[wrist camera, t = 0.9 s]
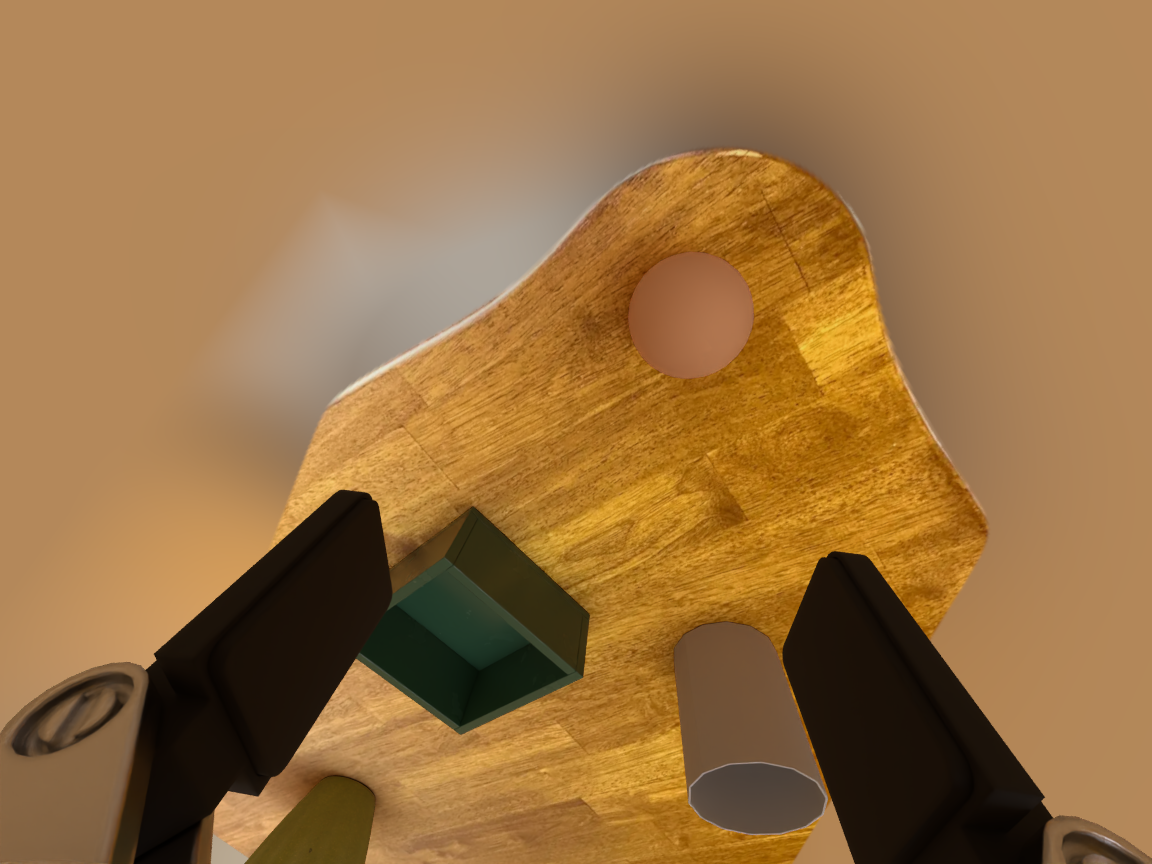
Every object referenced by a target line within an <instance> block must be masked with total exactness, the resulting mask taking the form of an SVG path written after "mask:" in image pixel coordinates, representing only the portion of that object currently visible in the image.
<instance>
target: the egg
mask: <svg viewBox="0 0 1152 864" xmlns="http://www.w3.org/2000/svg"><path fill="white" fill-rule="evenodd" d="M753 320H754V311H753V301H752V296H751V292H750V290H749V288H748V285H747V283H746V282H745V280H744V279H743V277H742V276H741V275H740V273H739V272H738V270H736V269H735V268H734V267H732V266H731V265H730V264H729V263H727V262H726V261H725V260H723V259H721V258H719V257H716V256H713V255H710V254H708V253H701V252H686V253H681V254H677V255H672V256H670V257H668V258H666V259H664V260H661V261H660V262H658V263H657V264H656V265H654V266H653V267H652V268H651V269H650V270H649V271H648V272H647V273H646V274H645V275H644V276H643V277H642V279H641V280H640V281H639V283H638V285H637V286H636V288H635V290H634V293H633V296H632V298H631V301H630V305H629V315H628V322H629V330H630V333H631V337H632V340H633V343H634V346H635V347H636V349H637V350H638V352H639V353H640V355H641V356H642V358H643V359H644V360H645V361H646V362H647V363H648V364H649V365H650V366H652V367H653V368H655V369H656V370H658V371H660V372H661V373H664V374H667V375H669V376H672V377H676V378H689V379H691V378H697V377H704V376H707V375H710V374H712V373H715V372H717V371H718V370H720V369H722V368H723V367H725V366H726V365H728V364H729V363H730V362H731V361H732V360H733V359H734V358H735V357H736V356H737V355H738V354H739V353H740V351H741V350H742V348H743V347H744V345H745V344H746V342H747V340H748V338H749V335H750V333H751V330H752V325H753Z"/></svg>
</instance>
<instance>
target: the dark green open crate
mask: <svg viewBox="0 0 1152 864" xmlns="http://www.w3.org/2000/svg"><path fill="white" fill-rule="evenodd" d="M389 571H390V577H391V583H392V589H393V594H392V600H391V603H390V605H389V607H388V609H387V611H386V612H385V614H384V615H383V617H382V618H381V620H380V621H379V623H378V625H377V626H376V628H375V629H374V631H373V632H372V634H371V635H370V637H369V639H368V640H367V642H366V643H365V645H364V646H363V648H362V650H361V651H360V653H359V654H358V656H357V657H356V659H358V660H359V661H360V662H362V663H363V664H364V665H366V666H367V667H369V668H370V669H371V670H373V671H374V672H375V673H377V674H378V675H379V676H381V677H382V678H384V679H385V680H386V681H388V682H389V683H390V684H392V685H393V686H395V687H396V688H397V689H399V690H400V691H401V692H403V693H404V694H405V695H407V696H408V697H410V698H411V699H412V700H414V701H415V702H416V703H418V704H419V705H420V706H422V707H423V708H425V709H426V710H427V711H429V712H430V713H431V714H433V715H434V716H436V717H437V718H438V719H440V720H441V721H442V722H444V723H445V724H446V725H448V726H449V727H451V728H452V729H454V731H456V732H457V733H459V734H460V735H462V734H464V733H466V732H468V731H470V730H472V729H474V728H477V727H479V726H481V725H483V724H485V723H487V722H489V721H492V720H494V719H496V718H498V717H500V716H502V715H504V714H507V713H509V712H511V711H513V710H515V709H517V708H519V707H521V706H524V705H526V704H528V703H530V702H532V701H534V700H536V699H539V698H541V697H543V696H545V695H547V694H549V693H551V692H554V691H556V690H558V689H560V688H562V687H564V686H566V685H569V684H571V683H573V682H575V681H577V680H579V679H581V678H583V674H584V664H585V655H586V645H587V636H588V626H589V616H590V615H589V614H588V613H587V612H586V611H585V610H584V609H583V608H582V607H581V606H580V605H579V604H578V603H577V602H575V601H574V600H573V599H572V598H571V597H570V596H569V595H568V594H567V593H566V592H565V591H564V590H563V589H562V588H560V587H559V586H558V585H557V584H556V583H555V582H554V581H553V580H552V579H551V578H550V577H549V576H548V575H546V574H545V573H544V572H543V571H542V570H541V569H540V568H539V567H538V566H537V565H536V564H535V563H534V562H532V561H531V560H530V559H529V558H528V557H527V556H526V555H525V554H524V553H523V552H522V551H521V550H520V549H518V548H517V547H516V546H515V545H514V544H513V543H512V542H511V541H510V540H509V539H508V538H507V537H506V536H504V535H503V534H502V533H501V532H500V531H499V530H498V529H497V528H496V527H495V526H494V525H493V524H492V523H491V522H489V521H488V520H487V519H486V518H485V517H484V516H483V515H482V514H481V513H480V512H479V511H478V510H477V509H475V508H474V507H472V508H470V509H469V510H468V511H466V512H465V513H464V514H462V515H461V516H460V517H459V518H457V519H456V520H455V521H453V522H452V523H451V524H449V525H448V526H447V527H445V528H444V529H443V530H441V531H440V532H439V533H437V534H436V535H435V536H433V537H432V538H431V539H429V540H428V541H427V542H425V543H424V544H423V545H421V546H420V547H419V548H417V549H416V550H415V551H413V552H412V553H411V554H409V555H408V556H407V557H406V558H404V559H403V560H402V561H400V562H399V563H398V564H396V565H395V566H394V567H392V568H391V569H390V570H389Z"/></svg>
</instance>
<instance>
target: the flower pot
mask: <svg viewBox="0 0 1152 864" xmlns="http://www.w3.org/2000/svg"><path fill="white" fill-rule="evenodd" d="M374 808H375V797H374V795H373V793H372V792H371V791H370V790H369V789H368V788H367V787H365V786H364V785H362V784H361V783H359V782H357V781H355V780H352V779H349V778H346V777H340V776H330V777H326V778H324V779H322V780H321V781H320V782H319V783H318V784H317V785H316V786H315V787H314V788H313V789H312V790H311V791H310V792H309V793H308V794H307V795H306V796H305V797H304V798H303V799H302V800H301V801H300V802H299V803H298V804H297V805H296V806H295V807H294V808H293V809H292V811H291V812H290V813H289V814H288V815H287V816H286V817H285V818H284V819H283V820H282V821H281V822H280V823H279V824H278V826H277V827H276V828H275V829H274V830H273V831H272V832H271V833H270V835H269V836H268V837H267V838H266V839H265V840H264V841H263V843H262V844H261V845H260V846H259V847H258V848H257V849H256V851H255V852H254V853H253V854H252V855H251V856H250V858H249V859H248V860H247V861H246V862H245V864H365V860H366V855H367V850H368V845H369V839H370V834H371V828H372V821H373V815H374Z"/></svg>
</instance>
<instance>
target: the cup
mask: <svg viewBox="0 0 1152 864" xmlns="http://www.w3.org/2000/svg"><path fill="white" fill-rule="evenodd" d="M674 667H675V677H676V687H677V696H678V706H679V716H680V725H681V735H682V745H683V754H684V764H685V774H686V784H687V793H688V803H689V804H690V805H691V807H692V808H693V809H694V810H695V812H696V813H697V814H698V815H699V816H700V818H702V819H704V820H706V821H708V822H710V823H712V824H714V825H716V826H718V827H720V828H722V829H725V830H730V831H735V832H739V833H744V834H749V835H770V834H783V833H787V832H791V831H794V830H798V829H802V828H805V827H807V826H809V825H810V824H811V823H813V822H814V821H815V820H817V819H818V818H819V817H821V816H822V815H823V814H824V811H825V807H826V804H827V800H828V797H827V794H826V791H825V788H824V785H823V782H822V780H821V777H820V774H819V771H818V768H817V765H816V762H815V760H814V757H813V754H812V751H811V748H810V745H809V743H808V740H807V737H806V734H805V731H804V728H803V725H802V723H801V720H800V717H799V714H798V711H797V708H796V705H795V703H794V700H793V697H792V694H791V691H790V688H789V686H788V683H787V680H786V677H785V674H784V671H783V668H782V666H781V663H780V660H779V657H778V654H777V651H776V650H775V648H774V646H773V645H772V643H771V641H770V639H769V638H768V637H767V636H766V635H764V634H762V633H761V632H759V631H757V630H756V629H754V628H753V627H751V626H747V625H742V624H736V623H731V622H720V623H713V624H705V625H701V626H700V627H698V628H696V629H694V630H692V631H690V632H688V633H686V634H684V635H683V637H682V638H681V639H680V641H679V642H678V644H677V645H676V646H675V648H674Z"/></svg>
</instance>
